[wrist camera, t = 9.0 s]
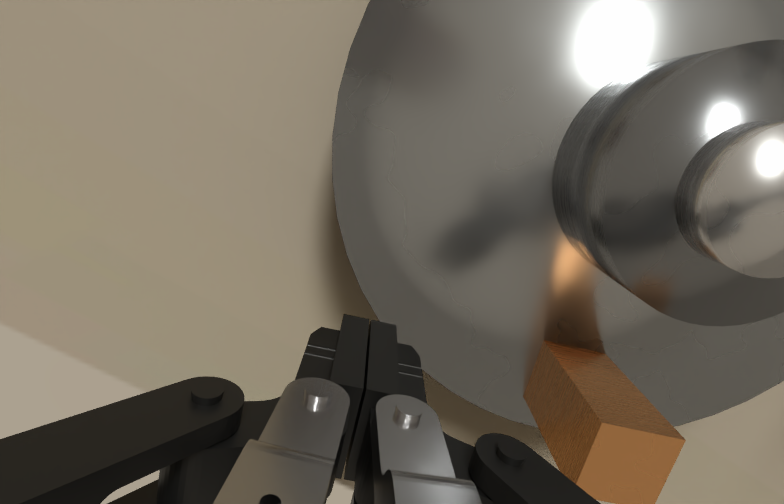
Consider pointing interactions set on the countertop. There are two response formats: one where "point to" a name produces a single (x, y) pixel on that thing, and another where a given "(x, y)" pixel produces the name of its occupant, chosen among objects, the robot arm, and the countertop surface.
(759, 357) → the turntable
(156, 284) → the countertop surface
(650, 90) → the cover
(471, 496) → the robot arm
